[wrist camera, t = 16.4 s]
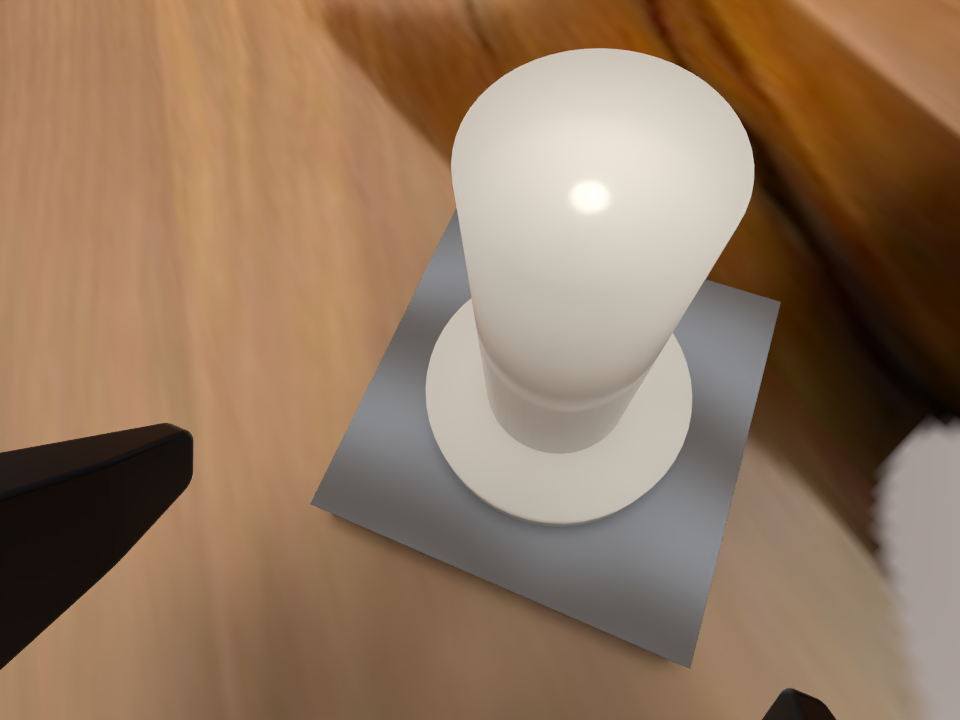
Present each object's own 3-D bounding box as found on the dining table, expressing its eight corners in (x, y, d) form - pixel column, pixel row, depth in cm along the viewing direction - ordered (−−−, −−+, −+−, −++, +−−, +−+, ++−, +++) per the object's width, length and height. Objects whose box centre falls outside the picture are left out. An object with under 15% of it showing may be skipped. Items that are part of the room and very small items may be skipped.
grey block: (669, 659, 19) (690, 669, 17) (332, 512, 22) (310, 504, 19) (754, 330, 23) (780, 302, 21) (463, 239, 26) (457, 205, 24)
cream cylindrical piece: (540, 583, 18) (578, 580, 6) (387, 388, 21) (223, 139, 9) (728, 418, 20) (1032, 177, 8) (563, 256, 22) (611, -97, 11)
